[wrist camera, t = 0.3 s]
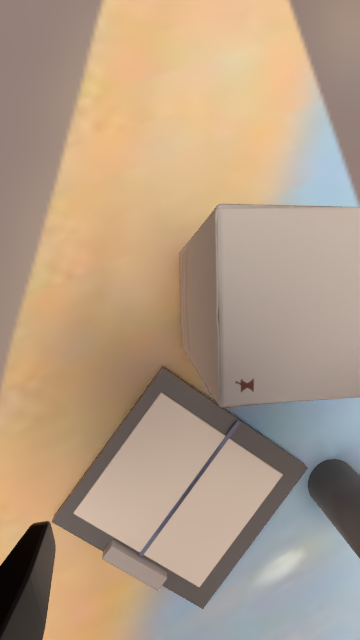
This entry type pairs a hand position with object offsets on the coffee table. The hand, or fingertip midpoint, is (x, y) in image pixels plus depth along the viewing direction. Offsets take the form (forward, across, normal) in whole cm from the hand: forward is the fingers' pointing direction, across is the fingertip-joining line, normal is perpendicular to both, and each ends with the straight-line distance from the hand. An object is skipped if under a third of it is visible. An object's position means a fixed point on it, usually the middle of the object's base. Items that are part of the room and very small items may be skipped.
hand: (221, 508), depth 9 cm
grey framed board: (+12, 0, +13) cm, 18 cm away
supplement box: (+16, -5, -1) cm, 17 cm away
